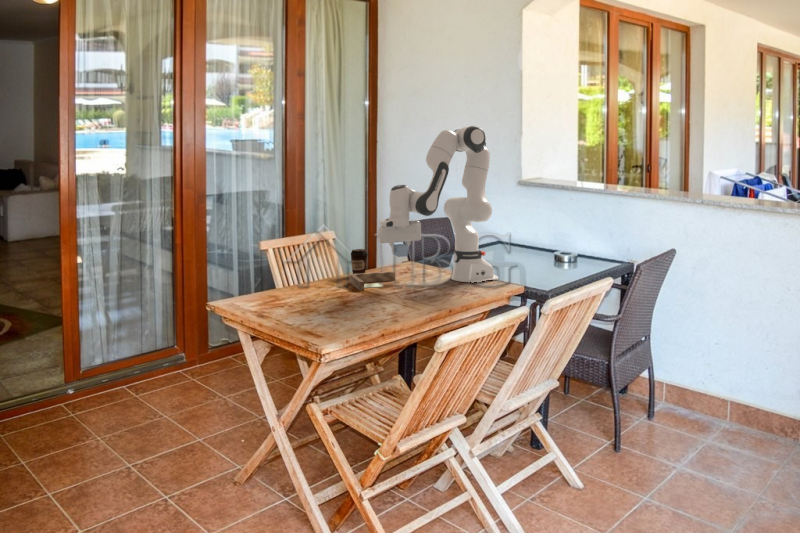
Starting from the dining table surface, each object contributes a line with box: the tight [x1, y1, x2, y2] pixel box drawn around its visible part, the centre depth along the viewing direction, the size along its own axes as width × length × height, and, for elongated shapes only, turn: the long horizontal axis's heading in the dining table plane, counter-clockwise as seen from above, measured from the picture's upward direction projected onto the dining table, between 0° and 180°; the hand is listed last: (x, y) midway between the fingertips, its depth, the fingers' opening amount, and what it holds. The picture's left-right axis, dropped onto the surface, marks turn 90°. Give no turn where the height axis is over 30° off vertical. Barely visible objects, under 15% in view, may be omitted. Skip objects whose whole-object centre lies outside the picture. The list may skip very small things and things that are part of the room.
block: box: [392, 242, 409, 258], centre depth 343 cm, size 4×8×5 cm, turn 19°
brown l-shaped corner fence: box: [348, 270, 396, 292], centre depth 347 cm, size 22×18×4 cm
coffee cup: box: [350, 248, 369, 274], centre depth 366 cm, size 9×8×13 cm
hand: (400, 251), depth 343 cm, fingers closed on block, 4 cm apart
